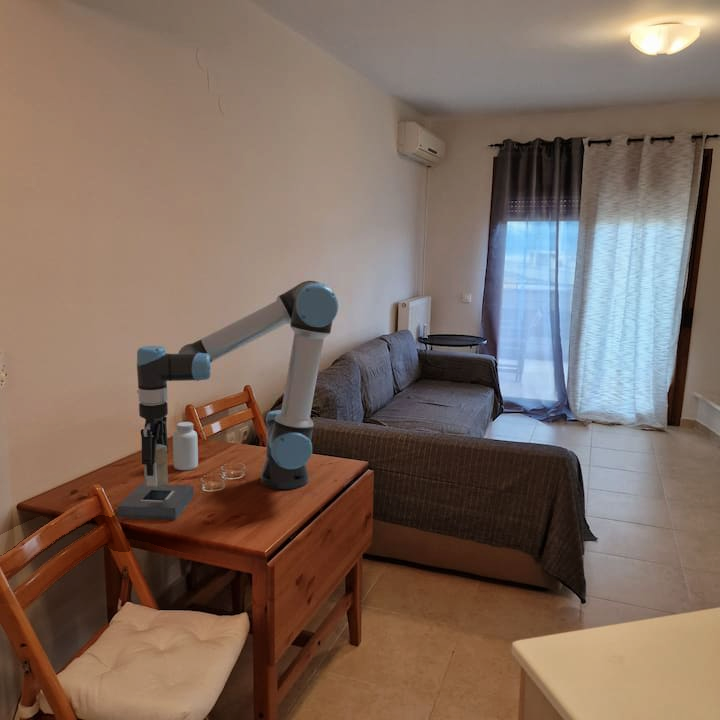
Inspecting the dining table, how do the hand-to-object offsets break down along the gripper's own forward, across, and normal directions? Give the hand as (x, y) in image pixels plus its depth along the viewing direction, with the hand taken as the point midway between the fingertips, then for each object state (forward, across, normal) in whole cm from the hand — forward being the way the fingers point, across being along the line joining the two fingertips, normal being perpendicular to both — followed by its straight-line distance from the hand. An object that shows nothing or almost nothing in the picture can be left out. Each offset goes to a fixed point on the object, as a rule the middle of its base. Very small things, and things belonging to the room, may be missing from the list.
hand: (156, 480), depth 176 cm
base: (+8, 0, 0) cm, 8 cm away
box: (+1, 0, 0) cm, 1 cm away
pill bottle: (+8, -32, -2) cm, 33 cm away
